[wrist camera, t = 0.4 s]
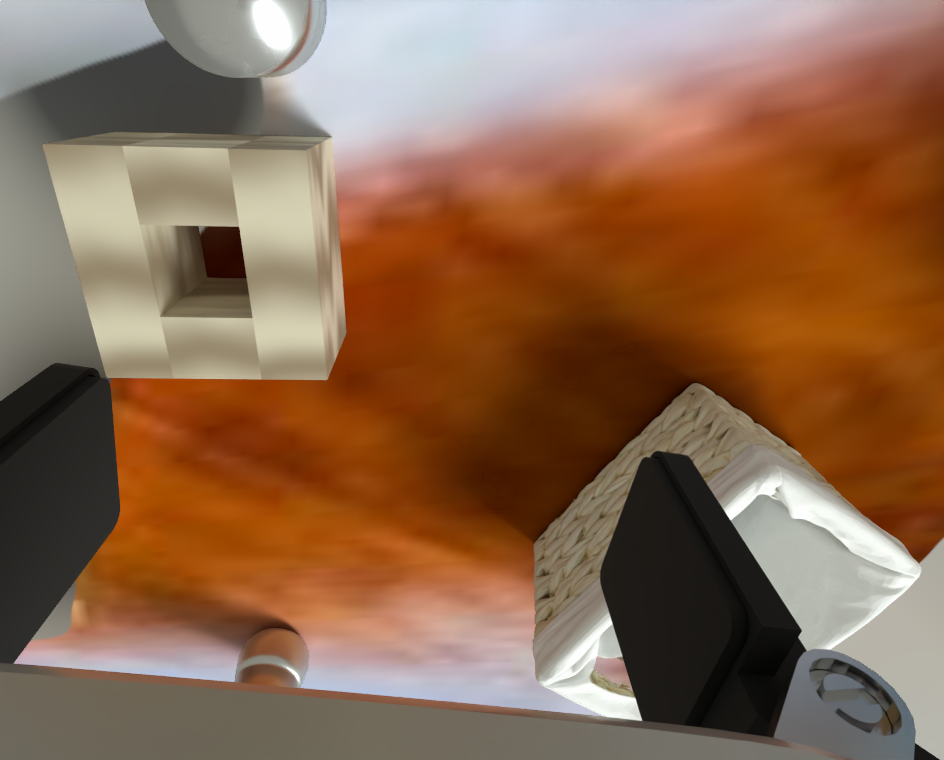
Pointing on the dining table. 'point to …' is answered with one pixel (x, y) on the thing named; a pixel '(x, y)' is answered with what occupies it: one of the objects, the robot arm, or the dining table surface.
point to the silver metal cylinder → (242, 33)
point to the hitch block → (181, 256)
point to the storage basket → (755, 518)
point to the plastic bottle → (273, 659)
